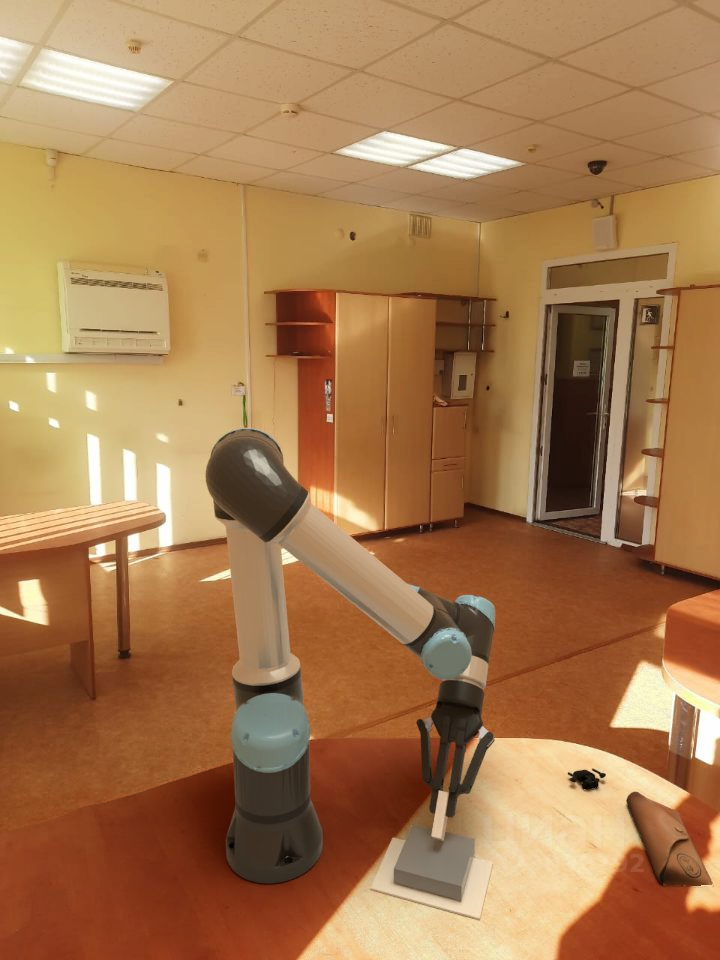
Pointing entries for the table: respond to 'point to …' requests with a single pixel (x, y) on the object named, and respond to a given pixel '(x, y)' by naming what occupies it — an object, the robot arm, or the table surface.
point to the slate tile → (435, 862)
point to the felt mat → (466, 907)
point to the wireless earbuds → (586, 778)
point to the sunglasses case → (667, 843)
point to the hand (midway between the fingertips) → (437, 838)
